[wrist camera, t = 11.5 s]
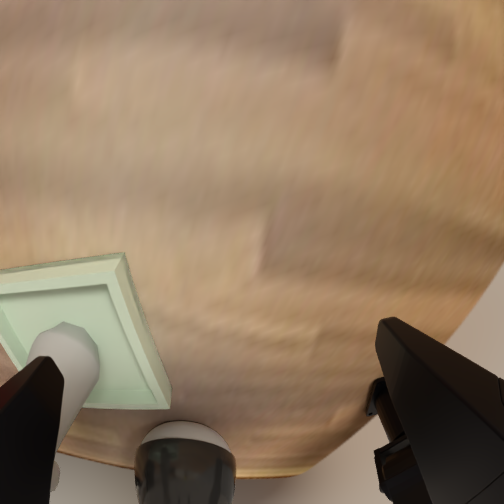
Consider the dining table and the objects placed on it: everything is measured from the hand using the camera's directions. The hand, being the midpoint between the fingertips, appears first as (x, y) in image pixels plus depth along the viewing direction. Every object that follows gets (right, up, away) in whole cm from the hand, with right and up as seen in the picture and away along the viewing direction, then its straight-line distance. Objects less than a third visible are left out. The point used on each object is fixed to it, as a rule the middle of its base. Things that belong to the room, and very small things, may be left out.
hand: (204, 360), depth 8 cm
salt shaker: (-13, -4, +15) cm, 20 cm away
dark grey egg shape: (-6, -17, +23) cm, 29 cm away
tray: (-13, -4, +15) cm, 20 cm away
